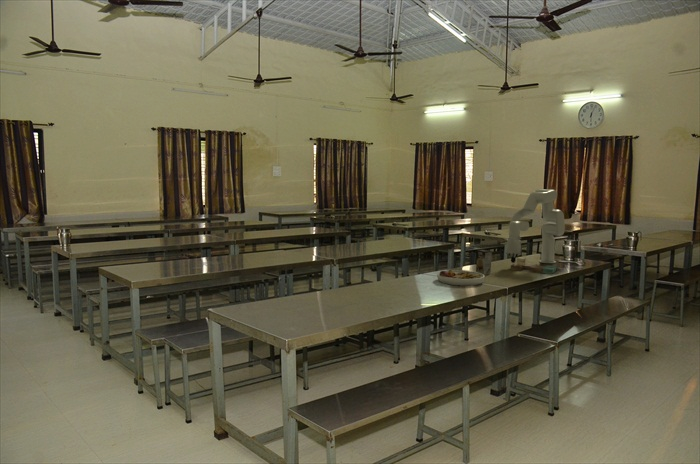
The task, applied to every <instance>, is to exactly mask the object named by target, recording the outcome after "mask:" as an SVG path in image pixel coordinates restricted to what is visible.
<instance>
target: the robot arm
mask: <svg viewBox="0 0 700 464" xmlns="http://www.w3.org/2000/svg"><path fill="white" fill-rule="evenodd" d="M557 198H558V192H557V190H555V189H547V188H546V189H543V188H540V189H536V190H535V191H533V192H530V194H529V196H528V197H527V199H526V201H525V202H524V204H523V205H524V206H523V207H522V208H521V209H519V210H518V211H516V212H515V213H514V215H513V216H512V218H511V220H510V222H509V230H508V239H507V242H506V252H505V254H506V255H508V256H510V262H511V263H512V264H514V263H516V262H517V258H518V256H521V255H522V236H521V232H526V231H528V230H529V228H530V223H529V222H528V221H525V220H521V219H523V218H525V217H527V216H531V215H532V214H534V213H535V211H536V209H537V208H538V207H537V206H538V205H539V204H541V208H542V209H541V210H542V219H543V221H545V222H544V223H542V225H541V237H542V240H541V255H540V256H541V259H538V261H539V262H540V263H543V264H557V261H556V260H555V249H556V248H555V247H556V239H555V237H554V236H557V237H561V236H563V235H564V233H565V230H566V228H565V227H566V226H565V224H566V223H565V214H564V211H562V210H561V209H555V208H554V206H555V205H554V201H555V200H557Z"/></svg>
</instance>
